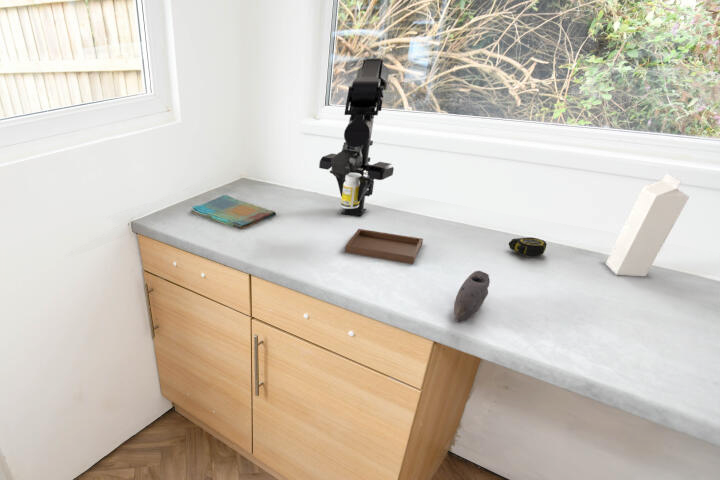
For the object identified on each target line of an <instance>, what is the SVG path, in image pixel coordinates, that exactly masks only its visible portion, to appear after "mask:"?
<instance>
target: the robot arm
mask: <svg viewBox="0 0 720 480" xmlns="http://www.w3.org/2000/svg"><path fill="white" fill-rule="evenodd" d="M389 73H390V69H389V68H388V67H387V66H386V65H385V64H384V59H382V58H381V57H379V58H378V57H377V58H375V57H373V58H368V57H367V58H365V59H363V62H362V64H361V66H360V67H359V68H358V69H357V71H356V77H355V78H354V80H353V81H352V83H351V85H350V86H349V87H348V89H347V90H348V91H347V97H346V102H345V108H344V113H343V115H344V116H350V117H349V118H348V119H349V120H348V123H347V125H346V127H345V130H344V133H343V137H344V141H345V142H343V144H342V149H341V151H339V152H338V153H329V154H327V155H323V156H322V157H321V158H320V160H319V163H318V168H319V169H323V170H329V173H330V174H332V175H333V176H334V177H335V179H336V182H337V185H338V189H339V193H340V198H342V192H343V184H344V182H345V181H346V180H345V178H346V175H348V174H349V173H359V174H361V175H362V176H361V177H359V180H360V186H359V192H358V201H360V202H359V207H357V208H354V209H347V208H343V210H342V211H340V214H341V215H345V216H351V217H352V216H353V217H360V218H361V217H362V216H363V215H364V214H365V213H366V211H367V208H365V207H364V206H365V200H366V197H370V196H372V195H373V191H374V186H375V180H377V181H383V180H385V179H388V178H390V177H392V176H393V175H394V170H395V169H394V166H393V163H390V162H384V161H383V162H382V161H378V162H375V163H373V164H370V162H371V157H369V153H370V152H369V151H370V147H371V146H373V144H374V141H373V140H372V133H373V127H374V120H375V116H378V115H379V112H381V111H382V109H383V103H384V97H385V91H387V89H388V81H389V75H390V74H389Z"/></svg>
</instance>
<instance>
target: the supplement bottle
mask: <svg viewBox="0 0 720 480" xmlns="http://www.w3.org/2000/svg"><path fill="white" fill-rule="evenodd" d="M361 176H362V175H361V174H359V173H349V174H348V175H346V178H345V180H346V181H345V182H344V184H343V192H342V197H341V200H340V201H341V203H340V204H341V205H340V206H341V207H342V208H343V209H345V208H347V209H354V208H357V207H359V202H360V201H358V192H359V186H360V180H359V177H361Z"/></svg>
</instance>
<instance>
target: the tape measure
mask: <svg viewBox="0 0 720 480" xmlns="http://www.w3.org/2000/svg"><path fill="white" fill-rule="evenodd" d="M508 246H509V249H510V250H511V251H514V252H515V253H516V254H518V255H520V256H524V257H528V258H530V257H531V258H535V257H541V256H543V254H544V253H545V251H546V249H547V242H546V241H545V240H543V239H540V238H537V237H529V236H528V237H519V238H512V239H511V240H509V241H508Z"/></svg>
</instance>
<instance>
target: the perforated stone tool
mask: <svg viewBox="0 0 720 480" xmlns="http://www.w3.org/2000/svg"><path fill="white" fill-rule="evenodd" d="M490 283H491V281H490V274H488V273H486V272H484V271H482V270H475V271H474V272H472V273H471V274H470V275H469V276H468V277H467V278H466V279H465V280H464V282H463V283H462V284H461V286H460V288H459V290H458V291H457V294H456V296H455V300H454V304H453V305H454V306H453V315H454V318H455V320H456V321H457V323H462V322H467V321H468V320H469V319H471V318H473V317H474V315H475V314H476V313H477V312H478V311H479V310H480V308H481V307H482V305H483V304H484V302H485V300H486V299H487V297H488V295H489V287H490Z"/></svg>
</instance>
